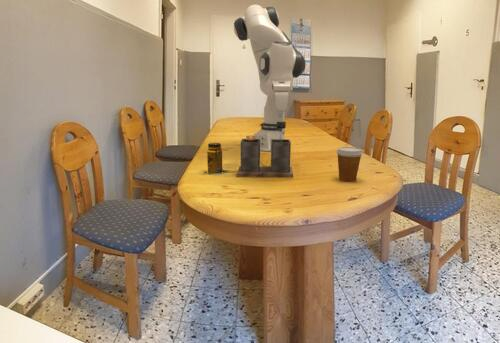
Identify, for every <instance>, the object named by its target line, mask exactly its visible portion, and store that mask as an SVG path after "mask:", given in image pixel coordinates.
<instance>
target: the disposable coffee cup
mask: <svg viewBox="0 0 500 343" xmlns="http://www.w3.org/2000/svg"><path fill="white" fill-rule="evenodd" d="M336 154H337V163H338V164H337V165H338V166H337V167H338V179H339V181H341V182H349V183H350V182H351V183H353V182H355V181H357V177H358V171H359V166H360V162H361V158H362V155H363V152H362V149H361V148H359V147H354V146H353V147H352V146H340V147H338V148H337V151H336Z"/></svg>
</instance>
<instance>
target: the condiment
mask: <svg viewBox="0 0 500 343" xmlns="http://www.w3.org/2000/svg"><path fill="white" fill-rule="evenodd" d="M206 154H207V157H206V159H207V171H208V173H207V174H209V173H210V175H215V176H216V175H220V174H224V173H228V172H229V170H228V169H223V150H222V144H221V143H220V142H210V143H208V144H207V151H206ZM222 172H223V173H222Z"/></svg>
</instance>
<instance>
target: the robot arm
mask: <svg viewBox="0 0 500 343" xmlns="http://www.w3.org/2000/svg"><path fill="white" fill-rule="evenodd" d="M279 25H280V16H279V13H278V11H277V10H276V8H275V7H273V6H266V7H265V8H263V7H262V6H261V5H260V4H251V5H250V6H248V7H247V8H246V10H245V12H244V16H242V17H241V16H240V17H238V18H237V19H235V21H234V23H233V31H234V34H235V36H236V37H237V38H238V40H240V41H242V42H243V41H248V40H249V41H250V46H251V50H252V54H253V56H254V57H253V58H254V60H255V63H256V67H257V71H258V77H259V78H258V79H259V88H260V89H259V90H260V91H261V93H263V94H264V95H266V96H267V98H266V102H265V105H264V107H263V122H262V123H259V127H260V129H259V130H258V131H256V132H255V133H254V134H253V135H252V136H255V139H260V152H271V139H279V131H280V128H277V121H278V122H282V121H285V113H286V111H287V108H288V101H289V95H290V91H293V90H294V89H293V87H294V85H293V84H294V79H297V78H299V77H300V76H301V75H302V74H303V73H304V71H305V69H306V65H307V64H306V63H307V62H306V59H305V56H304V55H303V54H302V53H301V52H300V51H299V50H297V48H296V46H294V44H293V43H292V41H291V40H290V38H289V37H288V36H287V34H286V33H285V32H284V31H283V30H281V29H280V28H279ZM285 133H286V128H283V133H282V139H285Z"/></svg>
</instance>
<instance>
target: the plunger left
mask: <svg viewBox="0 0 500 343" xmlns="http://www.w3.org/2000/svg"><path fill="white" fill-rule="evenodd" d="M245 139H246V142H255V136H253V135H246V137H245Z"/></svg>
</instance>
